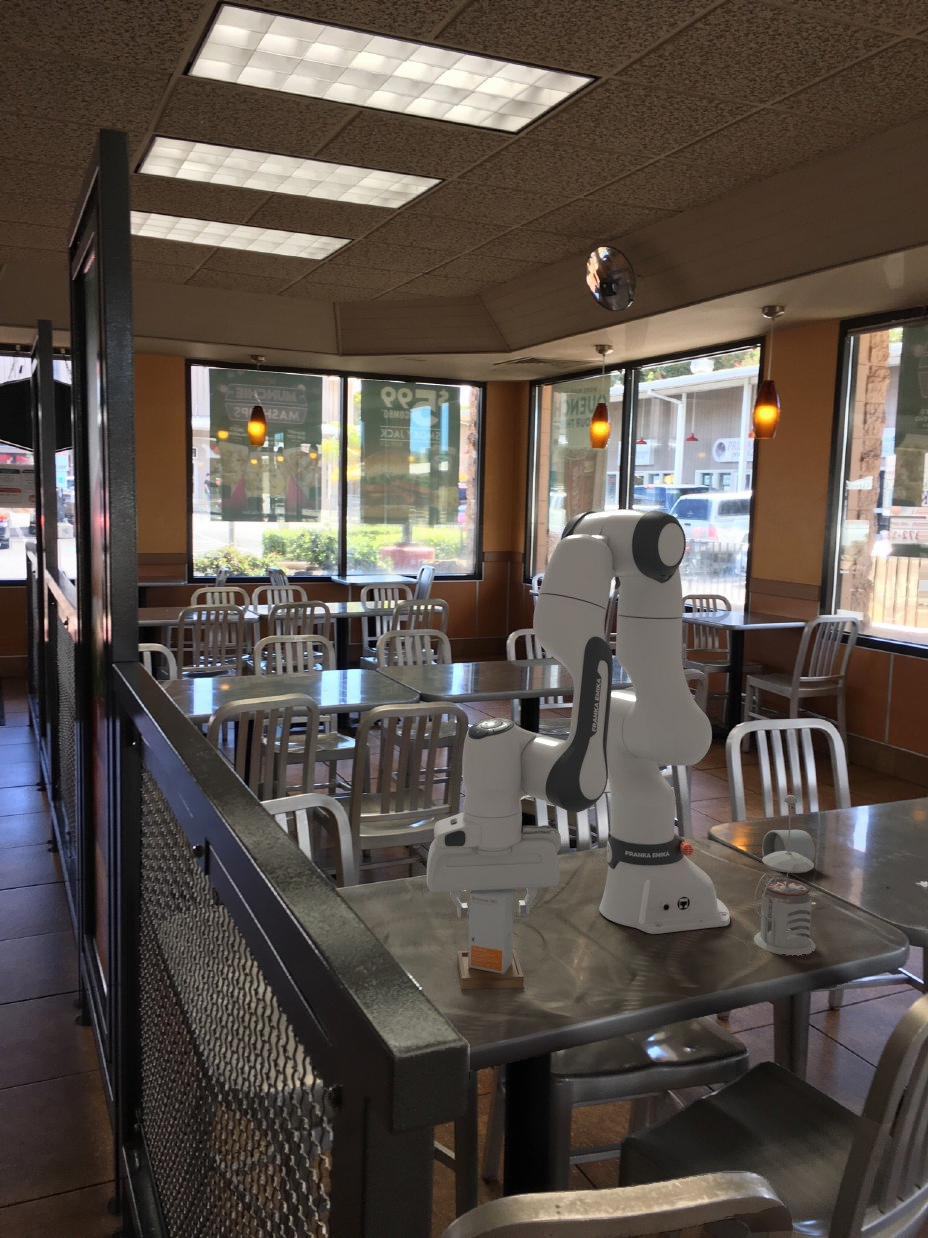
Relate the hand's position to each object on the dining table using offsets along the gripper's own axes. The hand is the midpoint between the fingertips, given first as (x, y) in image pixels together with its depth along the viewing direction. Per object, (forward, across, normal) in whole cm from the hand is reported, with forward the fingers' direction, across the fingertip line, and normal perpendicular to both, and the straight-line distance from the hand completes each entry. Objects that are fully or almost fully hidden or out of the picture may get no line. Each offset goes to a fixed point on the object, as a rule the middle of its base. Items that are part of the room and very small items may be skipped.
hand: (493, 915), depth 152 cm
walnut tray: (+9, +1, 0) cm, 9 cm away
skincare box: (+8, +1, 0) cm, 8 cm away
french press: (+11, -48, -7) cm, 50 cm away
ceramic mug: (+12, -64, -44) cm, 78 cm away
